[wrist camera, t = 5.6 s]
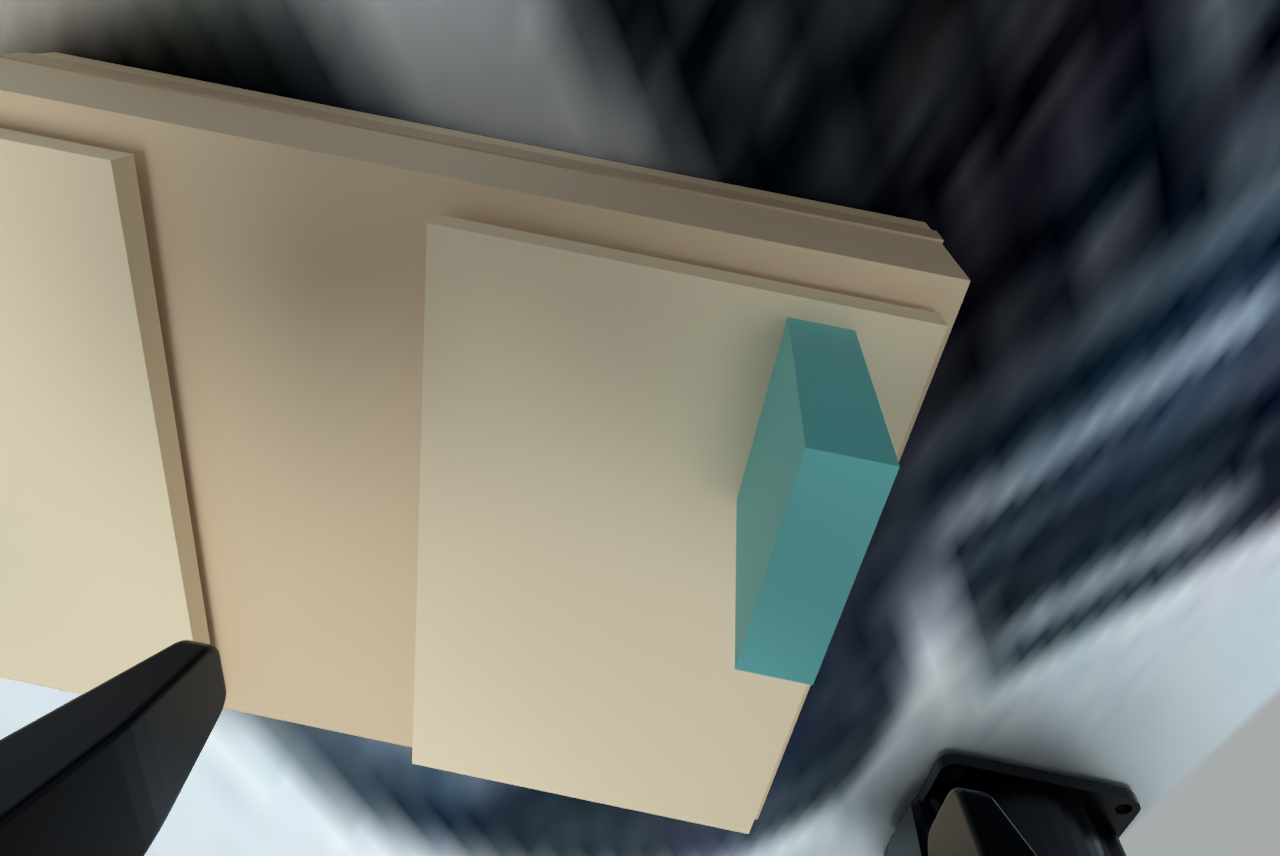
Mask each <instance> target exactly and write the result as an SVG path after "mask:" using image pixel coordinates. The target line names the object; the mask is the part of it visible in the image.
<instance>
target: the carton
mask: <svg viewBox="0 0 1280 856" xmlns="http://www.w3.org/2000/svg"><path fill="white" fill-rule="evenodd" d="M0 128H4V129H9V130H14V131H19V132H24V133H29V134H34V135H39V136H44V137H49V138H54V139H59V140H64V141H69V142H74V143H80V144H85V145H90V146H95V147H100V148H105V149H110V150H115V151H120V152H125V153H130V154H134V160H135V166H136V172H137V179H138V185H139V192H140V198H141V204H142V211H143V217H144V224H145V230H146V236H147V243H148V249H149V256H150V262H151V268H152V275H153V281H154V288H155V294H156V300H157V307H158V313H159V320H160V326H161V332H162V339H163V345H164V352H165V358H166V364H167V371H168V377H169V384H170V390H171V396H172V403H173V409H174V416H175V422H176V428H177V435H178V441H179V448H180V454H181V460H182V467H183V473H184V480H185V486H186V492H187V499H188V505H189V512H190V518H191V524H192V531H193V537H194V544H195V550H196V556H197V563H198V569H199V576H200V582H201V588H202V595H203V601H204V608H205V614H206V620H207V627H208V633H209V639H210V644H212V645H214V646H215V647H216V648H217V649H218V650H219V653H220V658H221V663H222V669H223V674H224V680H225V685H226V700H225V704H224V707H223V708H226V709H231V710H236V711H241V712H245V713H250V714H255V715H260V716H264V717H269V718H274V719H279V720H284V721H288V722H293V723H298V724H303V725H307V726H312V727H317V728H322V729H327V730H331V731H336V732H341V733H346V734H350V735H355V736H360V737H365V738H370V739H374V740H379V741H384V742H389V743H393V744H398V745H403V746H408V747H412V748H413V713H414V677H415V640H416V604H417V567H418V531H419V494H420V458H421V421H422V385H423V348H424V311H425V275H426V238H427V223H428V222H429V221H430V220H432V219H433V218H434V217H436V216H437V215H438V214H439V215H444V216H449V217H454V218H459V219H464V220H469V221H474V222H479V223H484V224H489V225H494V226H500V227H505V228H510V229H515V230H520V231H525V232H530V233H535V234H540V235H545V236H550V237H555V238H560V239H565V240H570V241H575V242H581V243H586V244H591V245H596V246H601V247H606V248H611V249H616V250H621V251H626V252H631V253H636V254H641V255H646V256H651V257H656V258H661V259H667V260H672V261H677V262H682V263H687V264H692V265H697V266H702V267H707V268H712V269H717V270H722V271H727V272H732V273H737V274H742V275H748V276H753V277H758V278H763V279H768V280H773V281H778V282H783V283H788V284H793V285H798V286H803V287H808V288H813V289H818V290H823V291H828V292H834V293H839V294H844V295H849V296H854V297H859V298H864V299H869V300H874V301H879V302H884V303H889V304H894V305H899V306H904V307H909V308H915V309H920V310H925V311H930V312H935V313H940V314H941V316H942V317H943V319H944V321H945V322H946V324H947V326H948V327H947V330H946V332H945V335H944V337H943V340H942V342H941V345H940V347H939V350H938V353H937V355H936V358H935V360H934V363H933V365H932V368H931V370H930V373H929V375H928V378H927V381H926V383H925V386H924V388H923V391H922V393H921V396H920V398H919V401H918V404H917V406H916V409H915V411H914V414H913V416H912V419H911V421H910V424H909V426H908V429H907V432H906V434H905V437H904V439H903V442H902V444H901V447H900V449H899V452H898V455H897V459H898V463H899V461H900V458H901V455H902V453H903V450H904V448H905V445H906V443H907V440H908V438H909V435H910V433H911V430H912V428H913V425H914V423H915V420H916V418H917V415H918V413H919V410H920V407H921V405H922V402H923V400H924V397H925V395H926V392H927V390H928V387H929V385H930V382H931V380H932V377H933V375H934V372H935V370H936V367H937V365H938V362H939V359H940V357H941V354H942V352H943V349H944V347H945V344H946V342H947V339H948V337H949V334H950V332H951V329H952V327H953V324H954V322H955V319H956V316H957V314H958V311H959V309H960V306H961V304H962V301H963V299H964V296H965V294H966V291H967V289H968V286H969V284H970V279H969V278H968V277H967V276H966V274H965V273H964V272H963V270H962V269H961V268H960V266H959V265H958V264H957V263H956V261H955V260H954V259H953V257H952V256H951V255H950V254H949V252H948V251H947V250H946V248H945V247H944V246H943V245H942V244H943V241H944V240H943V238H942V237H941V236H940V235H939V233H938V232H937V231H934V230H931V229H930V228H929V226H928V225H927V224H926V223H925V222H921V221H916V220H911V219H906V218H900V217H895V216H890V215H885V214H880V213H875V212H870V211H865V210H860V209H855V208H849V207H844V206H839V205H834V204H829V203H824V202H819V201H814V200H809V199H803V198H798V197H793V196H788V195H783V194H778V193H773V192H768V191H763V190H757V189H752V188H747V187H742V186H737V185H732V184H727V183H722V182H717V181H711V180H706V179H701V178H696V177H691V176H686V175H681V174H676V173H671V172H665V171H660V170H655V169H650V168H645V167H640V166H635V165H630V164H625V163H619V162H614V161H609V160H604V159H599V158H594V157H589V156H584V155H579V154H573V153H568V152H563V151H558V150H553V149H548V148H543V147H538V146H533V145H527V144H522V143H517V142H512V141H507V140H502V139H497V138H492V137H487V136H481V135H476V134H471V133H466V132H461V131H456V130H451V129H446V128H441V127H436V126H430V125H425V124H420V123H415V122H410V121H405V120H400V119H395V118H390V117H384V116H379V115H374V114H369V113H364V112H359V111H354V110H349V109H344V108H338V107H333V106H328V105H323V104H318V103H313V102H308V101H303V100H298V99H292V98H287V97H282V96H277V95H272V94H267V93H262V92H257V91H252V90H246V89H241V88H236V87H231V86H226V85H221V84H216V83H211V82H206V81H200V80H195V79H190V78H185V77H180V76H175V75H170V74H165V73H160V72H154V71H149V70H144V69H139V68H134V67H129V66H124V65H119V64H114V63H108V62H103V61H98V60H93V59H88V58H83V57H78V56H73V55H68V54H62V53H57V52H51V53H41V54H31V53H25V52H18V53H7V54H0ZM810 686H811V685H809V684H807V686H806V689H805V692H804V694H803V697H802V699H801V702H800V704H799V707H798V709H797V712H796V715H795V717H794V720H793V722H792V725H791V727H790V730H789V732H788V735H787V737H786V740H785V743H784V745H783V748H782V750H781V753H780V755H779V758H778V760H777V763H776V766H775V768H774V771H773V773H772V776H771V778H770V781H769V783H768V786H767V788H766V791H765V794H764V796H763V799H762V801H761V804H760V806H759V809H758V811H757V814H756V817H755V819H756V820H757V819H758V817H759V814H760V812H761V809H762V807H763V804H764V802H765V799H766V797H767V794H768V792H769V789H770V787H771V784H772V782H773V779H774V777H775V774H776V771H777V769H778V766H779V764H780V761H781V759H782V756H783V754H784V751H785V749H786V746H787V744H788V741H789V739H790V736H791V734H792V731H793V728H794V726H795V723H796V721H797V718H798V716H799V713H800V711H801V708H802V706H803V703H804V701H805V698H806V696H807V693H808V691H809V688H810Z"/></svg>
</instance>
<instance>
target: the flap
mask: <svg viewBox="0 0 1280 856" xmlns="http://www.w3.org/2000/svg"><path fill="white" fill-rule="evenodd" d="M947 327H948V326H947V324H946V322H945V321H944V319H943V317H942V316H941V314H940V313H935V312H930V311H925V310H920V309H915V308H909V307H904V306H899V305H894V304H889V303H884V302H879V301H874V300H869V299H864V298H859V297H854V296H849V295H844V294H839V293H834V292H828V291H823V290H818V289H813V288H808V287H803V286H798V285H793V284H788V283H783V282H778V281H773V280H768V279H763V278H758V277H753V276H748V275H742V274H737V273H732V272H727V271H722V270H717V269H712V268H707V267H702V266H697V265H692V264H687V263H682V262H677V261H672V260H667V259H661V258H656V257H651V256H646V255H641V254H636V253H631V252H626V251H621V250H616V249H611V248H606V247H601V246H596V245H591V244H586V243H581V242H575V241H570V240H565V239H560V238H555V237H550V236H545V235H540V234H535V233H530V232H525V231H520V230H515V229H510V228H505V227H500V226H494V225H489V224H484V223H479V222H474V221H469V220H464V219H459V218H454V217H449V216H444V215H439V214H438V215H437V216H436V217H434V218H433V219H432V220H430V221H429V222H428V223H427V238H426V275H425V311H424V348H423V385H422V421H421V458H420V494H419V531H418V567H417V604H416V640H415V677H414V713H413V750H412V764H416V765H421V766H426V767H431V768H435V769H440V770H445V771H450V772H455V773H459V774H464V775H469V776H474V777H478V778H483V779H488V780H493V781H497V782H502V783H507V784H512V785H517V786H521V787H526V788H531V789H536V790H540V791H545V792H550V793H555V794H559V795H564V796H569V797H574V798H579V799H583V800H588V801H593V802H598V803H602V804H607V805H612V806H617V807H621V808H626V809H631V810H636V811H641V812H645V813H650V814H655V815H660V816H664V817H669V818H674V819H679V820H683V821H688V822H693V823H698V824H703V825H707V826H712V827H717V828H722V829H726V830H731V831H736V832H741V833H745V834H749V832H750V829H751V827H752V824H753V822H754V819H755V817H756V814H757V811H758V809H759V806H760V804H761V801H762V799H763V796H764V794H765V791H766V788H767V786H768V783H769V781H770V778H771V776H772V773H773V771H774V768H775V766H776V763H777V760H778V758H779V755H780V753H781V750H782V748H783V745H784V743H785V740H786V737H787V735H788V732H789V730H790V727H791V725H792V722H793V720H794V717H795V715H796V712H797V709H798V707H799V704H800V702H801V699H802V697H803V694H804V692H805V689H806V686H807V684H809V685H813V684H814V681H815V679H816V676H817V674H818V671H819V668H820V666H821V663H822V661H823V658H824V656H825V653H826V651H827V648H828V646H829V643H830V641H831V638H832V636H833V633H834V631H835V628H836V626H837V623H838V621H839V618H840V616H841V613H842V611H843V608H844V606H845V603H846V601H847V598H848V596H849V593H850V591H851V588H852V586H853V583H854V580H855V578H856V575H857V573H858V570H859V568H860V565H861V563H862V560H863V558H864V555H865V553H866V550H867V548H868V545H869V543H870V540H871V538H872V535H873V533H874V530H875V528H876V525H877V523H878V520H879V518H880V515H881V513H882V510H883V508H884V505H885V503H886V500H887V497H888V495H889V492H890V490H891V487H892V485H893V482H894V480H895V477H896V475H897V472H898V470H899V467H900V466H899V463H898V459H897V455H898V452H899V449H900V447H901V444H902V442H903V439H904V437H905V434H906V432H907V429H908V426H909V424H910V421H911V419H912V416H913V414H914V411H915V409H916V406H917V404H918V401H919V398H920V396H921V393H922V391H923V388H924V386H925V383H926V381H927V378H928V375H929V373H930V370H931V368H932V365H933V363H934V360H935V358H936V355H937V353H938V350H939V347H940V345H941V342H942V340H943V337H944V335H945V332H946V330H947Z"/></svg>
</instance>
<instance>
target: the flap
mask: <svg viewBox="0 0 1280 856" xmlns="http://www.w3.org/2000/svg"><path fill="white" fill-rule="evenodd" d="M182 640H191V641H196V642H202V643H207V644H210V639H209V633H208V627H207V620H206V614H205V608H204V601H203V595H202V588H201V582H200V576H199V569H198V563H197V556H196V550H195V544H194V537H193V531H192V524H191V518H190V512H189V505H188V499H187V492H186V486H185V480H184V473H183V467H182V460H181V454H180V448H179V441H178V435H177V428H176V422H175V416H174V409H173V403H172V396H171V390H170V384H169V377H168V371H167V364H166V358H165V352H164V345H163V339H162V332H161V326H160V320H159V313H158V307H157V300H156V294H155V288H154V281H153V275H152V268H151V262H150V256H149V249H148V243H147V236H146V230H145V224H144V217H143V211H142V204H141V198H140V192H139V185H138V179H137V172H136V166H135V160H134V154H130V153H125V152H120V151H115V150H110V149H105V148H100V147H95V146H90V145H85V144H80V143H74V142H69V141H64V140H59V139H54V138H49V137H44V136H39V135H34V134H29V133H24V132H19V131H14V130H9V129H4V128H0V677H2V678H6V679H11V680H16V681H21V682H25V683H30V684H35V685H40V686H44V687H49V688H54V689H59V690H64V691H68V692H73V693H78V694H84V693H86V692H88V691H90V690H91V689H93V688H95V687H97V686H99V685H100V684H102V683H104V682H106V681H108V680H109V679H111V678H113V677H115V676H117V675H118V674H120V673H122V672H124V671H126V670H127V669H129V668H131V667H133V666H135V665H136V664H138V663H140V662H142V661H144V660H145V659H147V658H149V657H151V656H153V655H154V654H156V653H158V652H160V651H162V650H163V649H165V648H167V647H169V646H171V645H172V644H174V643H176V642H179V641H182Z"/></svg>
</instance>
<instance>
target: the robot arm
mask: <svg viewBox="0 0 1280 856" xmlns="http://www.w3.org/2000/svg"><path fill="white" fill-rule="evenodd" d="M225 700H226V685H225V680H224V674H223V669H222V663H221V658H220V653H219V650H218V649H217V648H216V647H215V646H214V645H212V644H207V643H202V642H196V641H191V640H182V641H179V642H176V643H174V644H172V645H171V646H169V647H167V648H165V649H163V650H162V651H160V652H158V653H156V654H154V655H153V656H151V657H149V658H147V659H145V660H144V661H142V662H140V663H138V664H136V665H135V666H133V667H131V668H129V669H127V670H126V671H124V672H122V673H120V674H118V675H117V676H115V677H113V678H111V679H109V680H108V681H106V682H104V683H102V684H100V685H99V686H97V687H95V688H93V689H91V690H90V691H88V692H86V693H84V694H82V695H81V696H79V697H77V698H75V699H73V700H72V701H70V702H68V703H66V704H64V705H63V706H61V707H59V708H57V709H55V710H54V711H52V712H50V713H48V714H46V715H45V716H43V717H41V718H39V719H37V720H36V721H34V722H32V723H30V724H28V725H26V726H25V727H23V728H21V729H19V730H17V731H16V732H14V733H12V734H10V735H8V736H7V737H5V738H3V739H1V740H0V856H144V855H145V853H146V852H147V850H148V848H149V847H150V845H151V844H152V842H153V840H154V839H155V837H156V835H157V834H158V832H159V831H160V829H161V827H162V825H163V823H164V821H165V820H166V818H167V816H168V814H169V812H170V811H171V809H172V807H173V805H174V803H175V801H176V799H177V797H178V795H179V793H180V791H181V789H182V787H183V785H184V783H185V781H186V780H187V778H188V776H189V774H190V772H191V770H192V768H193V766H194V764H195V762H196V760H197V758H198V756H199V754H200V752H201V750H202V749H203V747H204V745H205V743H206V741H207V739H208V737H209V735H210V733H211V731H212V729H213V727H214V725H215V723H216V721H217V719H218V718H219V716H220V714H221V712H222V709H223V707H224V704H225ZM1140 809H1141V808H1140V804H1139V802H1138V800H1137V798H1136V796H1135V794H1134V793H1133V792H1132V791H1131V790H1128V789H1126V788H1121V787H1116V786H1111V785H1106V784H1101V783H1097V782H1092V781H1087V780H1082V779H1077V778H1072V777H1068V776H1063V775H1058V774H1053V773H1048V772H1043V771H1039V770H1034V769H1029V768H1024V767H1019V766H1014V765H1010V764H1005V763H1000V762H995V761H990V760H986V759H981V758H976V757H971V756H966V755H961V754H954V753H951V754H945V755H943V756H941V757H940V758H939V759H938V760H937V762H936V764H935V765H934V767H933V769H932V771H931V773H930V774H929V776H928V778H927V780H926V782H925V783H924V785H923V787H922V789H921V791H920V793H919V794H918V796H917V798H916V799H915V800H914V801H913V802H912V803H911V804H910V805H909V807H908V808H907V810H906V812H905V814H904V816H903V818H902V819H901V821H900V823H899V825H898V827H897V829H896V830H895V832H894V834H893V836H892V838H891V839H890V841H889V843H888V851H887V852H886V854H885V856H1126V854H1125V852H1124V849H1123V847H1122V845H1121V843H1120V840H1119V837H1120V835H1121V834H1122V833H1123V832H1124V830H1125V829H1126V828H1127V827H1128V825H1129V824H1130V823H1131V822H1132V820H1133V819H1134V818H1135V817H1136V815H1137V814H1138V813H1139V811H1140Z"/></svg>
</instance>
